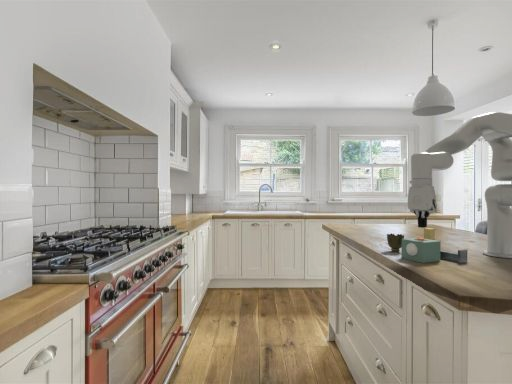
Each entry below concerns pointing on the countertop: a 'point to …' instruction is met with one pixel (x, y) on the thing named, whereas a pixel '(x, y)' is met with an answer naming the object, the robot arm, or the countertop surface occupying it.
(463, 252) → the rail
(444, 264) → the countertop surface
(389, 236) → the cup
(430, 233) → the carriage
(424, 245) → the green box
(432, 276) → the countertop surface
